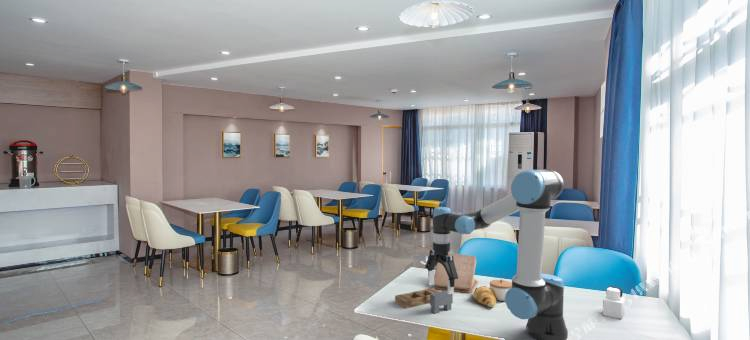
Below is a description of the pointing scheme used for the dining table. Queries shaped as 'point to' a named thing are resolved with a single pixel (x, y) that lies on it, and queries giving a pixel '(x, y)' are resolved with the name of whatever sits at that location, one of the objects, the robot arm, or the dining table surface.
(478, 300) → the croissant
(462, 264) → the case
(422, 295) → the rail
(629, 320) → the dining table surface
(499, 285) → the lidded jar
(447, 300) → the grey bridge block
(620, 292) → the medicine bottle
